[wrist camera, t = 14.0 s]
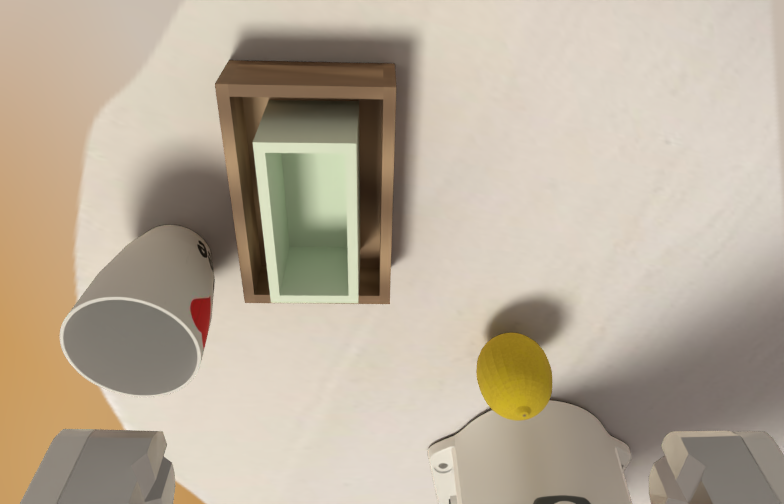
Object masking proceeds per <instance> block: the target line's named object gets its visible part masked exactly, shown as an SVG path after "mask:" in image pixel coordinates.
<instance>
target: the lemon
mask: <svg viewBox="0 0 784 504" xmlns="http://www.w3.org/2000/svg"><path fill="white" fill-rule="evenodd" d="M477 380H478V384H479V387H480V390H481V393H482V395H483V397H484V399H485V401H486V402H487V404H488V405H489V406H490V408H491V409H492V410H493V411H494V412H496V413H497V414H498V415H500V416H502V417H504V418H506V419H510V420H515V421H521V420H527V419H530V418H532V417H534V416H536V415H538V414H539V413H540V412H541V411H542V410H543V409H544V408H545V407H546V405H547V404H548V402H549V399H550V397H551V393H552V371H551V367H550V364H549V361H548V359H547V357H546V354H545V353H544V351H543V350H542V348H541V347H540V346H539V345H538V344H537V343H536V342H535V341H534V340H532V339H531V338H529V337H527V336H525V335H522V334H519V333H504V334H500V335H498V336H496V337H494V338H492V339H491V340H490V341H488V342H487V343H486V345H485V346H484V347H483V348H482V350H481V352H480V355H479V357H478V361H477Z"/></svg>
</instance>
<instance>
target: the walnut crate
mask: <svg viewBox="0 0 784 504" xmlns="http://www.w3.org/2000/svg"><path fill="white" fill-rule="evenodd" d="M215 88H216V96H217V103H218V110H219V118H220V125H221V132H222V139H223V147H224V154H225V161H226V168H227V176H228V183H229V190H230V198H231V205H232V212H233V219H234V227H235V234H236V241H237V249H238V256H239V263H240V270H241V278H242V285H243V292H244V299H245V303H271V299H270V290H269V282H268V273H267V264H266V255H265V247H264V238H263V229H262V220H261V212H260V203H259V194H258V185H257V177H256V168H255V159H254V150H253V140H254V137H255V135H256V132H257V129H258V127H259V124H260V121H261V119H262V116H263V113H264V111H265V108H266V106H267V103H268V100H302V101H359V153H360V273H359V298H358V303H328V304H390V275H391V243H392V210H393V178H394V146H395V113H396V76H395V64H389V63H339V62H288V61H238V60H229V61H228V63H227V65H226V66H225V68H224V70H223V71H222V73H221V75H220V76H219V78H218V80H217V81H216V83H215Z"/></svg>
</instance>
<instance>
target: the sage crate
mask: <svg viewBox="0 0 784 504" xmlns="http://www.w3.org/2000/svg"><path fill="white" fill-rule="evenodd" d="M253 150H254V159H255V168H256V177H257V185H258V194H259V203H260V212H261V220H262V229H263V238H264V247H265V255H266V264H267V273H268V282H269V290H270V299H271V303H358V298H359V273H360V153H359V101H302V100H268V103H267V106H266V108H265V111H264V113H263V116H262V119H261V121H260V124H259V127H258V129H257V132H256V135H255V137H254V140H253Z"/></svg>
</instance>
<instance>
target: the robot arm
mask: <svg viewBox="0 0 784 504" xmlns="http://www.w3.org/2000/svg"><path fill="white" fill-rule="evenodd" d="M166 447H167V443H166V440H165V437H164V434H163V432H162V431H131V430H96V429H95V430H93V429H63V430H62V431H61V432H60V433H59V434H58V435H57V436H56V437H55V438H54V439H53V441H52V443H51V445H50V447H49V449H48V451H47V452H46V454H45V456H44V458H43V460H42V462H41V464H40V466H39V468H38V470H37V472H36V474H35V476H34V477H33V479H32V481H31V483H30V485H29V487H28V489H27V491H26V493H25V495H24V497H23V499H22V500H21V502H20V504H173V500H174V492H175V474H174V469H173V465H172V462H170V461H169V460H168V459H166V458H165V457H164V453H165V450H166ZM661 447H662V450H663V452H664V454H665V456H664V457H662V458H661V459H659V460H658V461H656V462H655V463H654V464H653V466H652V469H651V472H650V475H649V496H650V501H651V504H784V455H783V453H782V452H781V450H780V449H779V447H778V445H777V444H776V442H775V441H774V439H773V438H772V437H771V436H770V435H769V434H767V433H766V432H761V431H734V432H730V431H671V432H670V433H669V434H667V435H666V436H665V438H664V440H663V442H662V445H661ZM428 457H429V462H430V467H431V472H432V476H433V481H434V485H435V490H436V495H437V499H438V504H632V501H631V497H630V494H629V490H628V487H627V483H626V480H625V476H624V473H623V471H624V470H625V468H626V467H627V466H628V464H629V463H630V461H631V458H632V457H631V453H630V449H629V447H628V445H626V444H625V443H623V442H622V441H620V440H618V439H616V438H614V437H612V436H610V435H609V434H608V433H607V431H606V430H605V428H604V427H603V425H602V424H601V422H600V421H599V420H598V419H597V418H596V417H595V416H594V415H592V414H591V413H589V412H588V411H586V410H584V409H582V408H580V407H578V406H575V405H572V404H569V403H565V402H559V401H551V400H549V402H548V404H547V405H546V407H545V408H544V409H543V410H542V411H541V412H540V413H539V414H538V415H536V416H534V417H532V418H530V419H527V420H521V421H515V420H510V419H506V418H504V417H502V416H500V415H498V414H497V413H496V412H494V411H493V410H491V411H489V412H487V413H485V414H483V415H481V416H479V417H478V418H476V419H475V420H473V421H472V422H471V423H470V424H468V425H467V426H466V427H465V428H464V429H463V430H461V431H460V432H459V433H458V434H456V435H454V436H452V437H449V438H447V439H444V440H442V441H440V442H437V443H435V444H434V445H432V446H431V447H430V448H429V449H428Z"/></svg>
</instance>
